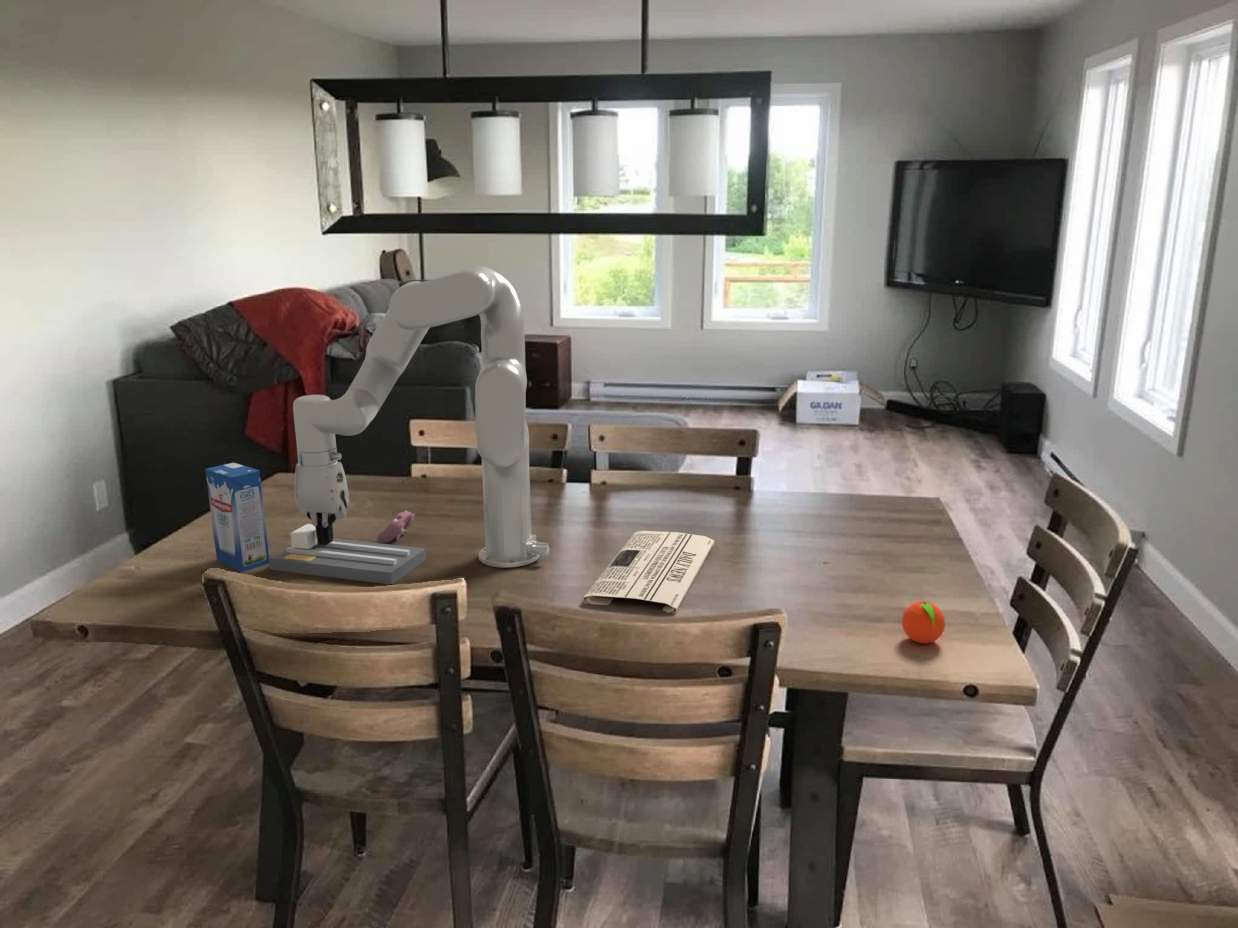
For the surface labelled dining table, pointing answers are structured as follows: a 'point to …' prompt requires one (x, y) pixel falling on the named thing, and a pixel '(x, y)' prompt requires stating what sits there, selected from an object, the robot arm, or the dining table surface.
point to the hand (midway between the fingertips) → (325, 542)
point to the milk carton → (237, 516)
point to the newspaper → (652, 569)
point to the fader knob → (304, 537)
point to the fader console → (351, 560)
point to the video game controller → (396, 527)
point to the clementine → (923, 622)
